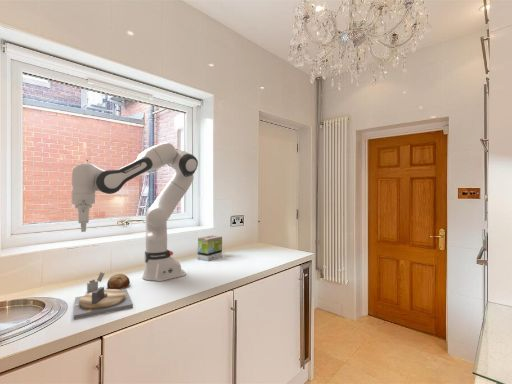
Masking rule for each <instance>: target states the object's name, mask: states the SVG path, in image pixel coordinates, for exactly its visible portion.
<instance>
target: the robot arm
mask: <svg viewBox="0 0 512 384" xmlns="http://www.w3.org/2000/svg"><path fill="white" fill-rule="evenodd" d="M166 165H167V166H168V167H170V168H173V169H174V170H175V171H174V174H173V176H172V177H171V178H170V179H169V181H168V182H167V183H166V185H164V188H162V190H161V192H160V193H159V194H158V195H157V197H156V199H155V200H154V202H152V204H151V206H149V207H148V209H147V210H146V212H145V251H144V263H145V265H144V270H143V275H142V279H143V280H145V281H155V282H162V281H167V280H172V279H175V278H176V279H177V278H181V277H184V276H185V275H186V271H185V270H184V269H182V265H181V263H180V262H179V261H178V260H176V259H175V258H174V257H172V256H173V255H174V252H173V251H172V250H169V249H168V232H167V231H168V227H167V225H168V220H169V218H170V217H171V215H172V214H173V212H174V211H175V210H176V208H177V205H178V204H179V202H181V200H182V199H183V197H184V196H185V195H186V193H187V192H188V190H189V189H190V187H191V185H192V183H193V182H194V179H195V178H194V174H195V173H196V170H197V169H198V165H199V162H198V159H197V158H196V156H195V155H193V154H191V153H189V152H187V151H185V150H181V149H178V148H175V146H174V144H171V142H163V143H162V142H161V143H159V144H156V145H153V146H151V147H149V148H147V149H145V150H144V151H142V152H141V153H139V154H138V155H137V158H136V159H135V160H134V161H132V162H131V163H129V164H126V165H124V166H122V167H120V168H118V169H108V170H104V169H102V168H99V167H97V166H96V165H94V164H93V163H87V162H86V163H79V164H76V165H74V166H73V168H72V172H71V186H72V191H71V205H75V206H74V207H75V209H77V213H78V216H77V217H78V219H77V220H78V221H77V222H78V224H80V232H81V233H85V232H87V224H89V221H90V220H89V219H90V217H89V216H90V215H89V214H90V209H91V208H93V205H96V192H101V193H104V194H109V195H112V194H115V193H117V192H119V191H120V190H121V189H122V188H123V187H124V185H125V184H126V183H127V182H129V181H131V180H133V179H135V178H136V177H138V176H140V175H142V174H144V173H149V172H153V171H157V170H158V169H159V170H160V169H161V168H162V167H165V166H166Z"/></svg>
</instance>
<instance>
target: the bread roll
mask: <svg viewBox="0 0 512 384" xmlns="http://www.w3.org/2000/svg"><path fill="white" fill-rule="evenodd" d="M130 283H131V281H130V278H129V277H128V276H127V275H126V274H123V273H117V274H113V275H111V276H110V277H109V279H108V280H107V283H106V284H107V285H106V286H107V287H106V290H108V289H118V290H123V289H127V288H128V287H129V286H130Z"/></svg>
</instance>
